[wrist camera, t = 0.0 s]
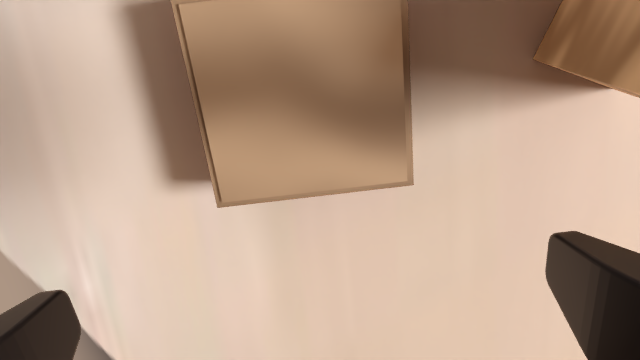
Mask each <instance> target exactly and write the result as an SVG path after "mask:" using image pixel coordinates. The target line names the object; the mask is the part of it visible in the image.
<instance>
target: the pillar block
mask: <svg viewBox="0 0 640 360" xmlns="http://www.w3.org/2000/svg"><path fill="white" fill-rule="evenodd" d="M533 60H536V61H539V62H541V63H544V64H547V65H550V66H552V67H555V68H558V69H560V70H563V71H566V72H569V73H571V74H574V75H577V76H579V77H582V78H585V79H587V80H590V81H593V82H596V83H598V84H601V85H604V86H606V87H609V88H612V89H615V90H618V91H621V92H624V93H627V94H630V95H633V96H636V97H639V98H640V0H563V1H562V2H561V4H560V6H559V8H558V10H557V12H556V14H555V16H554V18H553V20H552V22H551V24H550V26H549V28H548V30H547V32H546V34H545V36H544V38H543V40H542V42H541V44H540V46H539V48H538V50H537V52H536V54H535V56H534V58H533Z"/></svg>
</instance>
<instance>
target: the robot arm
mask: <svg viewBox="0 0 640 360" xmlns="http://www.w3.org/2000/svg"><path fill="white" fill-rule="evenodd" d="M546 279H547V282H548V285H549V287H550V289H551V291H552V293H553V295H554V296H555V298H556V300H557V302H558V304H559V306H560V308H561V310H562V312H563V314H564V316H565V318H566V320H567V322H568V324H569V326H570V328H571V329H572V331H573V333H574V335H575V337H576V339H577V341H578V343H579V345H580V347H581V349H582V350H583V352H584V354H585V356H586V357H587V359H588V360H640V253H637V252H634V251H631V250H628V249H625V248H623V247H620V246H617V245H614V244H611V243H608V242H606V241H603V240H600V239H597V238H594V237H591V236H588V235H586V234H583V233H580V232H577V231H568V232H559V233H554V234H553V235H551V236H550V239H549V242H548V252H547V261H546ZM80 335H81V326H80V322H79V320H78V317H77V315H76V313H75V310H74V308H73V305H72V303H71V300H70V298H69V296H68V294H67V293H66V292H65V291H63V290H54V291H45V292H40V293H38V294H36V295H34V296H32V297H30V298H29V299H27V300H25V301H23V302H22V303H20V304H18V305H16V306H15V307H13V308H11V309H9V310H8V311H6V312H4V313H3V314H1V315H0V360H73V357H74V355H75V352H76V349H77V346H78V342H79V340H80Z"/></svg>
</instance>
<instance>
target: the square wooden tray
mask: <svg viewBox="0 0 640 360" xmlns="http://www.w3.org/2000/svg"><path fill="white" fill-rule="evenodd" d="M171 4H172V9H173V13H174V18H175V22H176V27H177V31H178V35H179V40H180V44H181V49H182V53H183V57H184V62H185V66H186V71H187V75H188V80H189V84H190V88H191V93H192V97H193V102H194V106H195V110H196V115H197V119H198V124H199V128H200V133H201V137H202V141H203V146H204V150H205V155H206V159H207V163H208V168H209V172H210V177H211V181H212V186H213V190H214V194H215V199H216V203H217V208H220V207H229V206H238V205H246V204H255V203H263V202H272V201H281V200H289V199H298V198H306V197H315V196H324V195H332V194H341V193H349V192H358V191H367V190H375V189H384V188H392V187H401V186H410V185H414V183H413V151H412V119H411V87H410V55H409V23H408V0H171Z"/></svg>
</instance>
